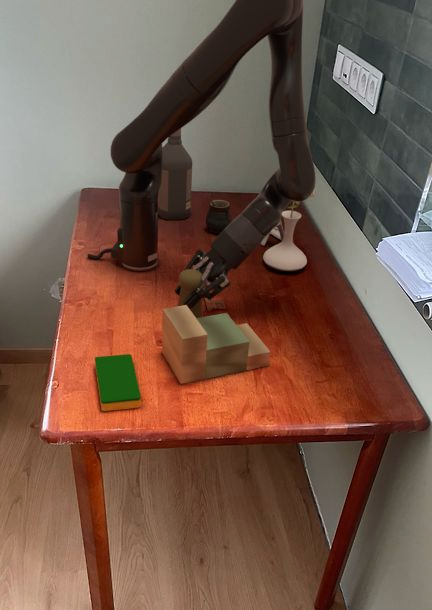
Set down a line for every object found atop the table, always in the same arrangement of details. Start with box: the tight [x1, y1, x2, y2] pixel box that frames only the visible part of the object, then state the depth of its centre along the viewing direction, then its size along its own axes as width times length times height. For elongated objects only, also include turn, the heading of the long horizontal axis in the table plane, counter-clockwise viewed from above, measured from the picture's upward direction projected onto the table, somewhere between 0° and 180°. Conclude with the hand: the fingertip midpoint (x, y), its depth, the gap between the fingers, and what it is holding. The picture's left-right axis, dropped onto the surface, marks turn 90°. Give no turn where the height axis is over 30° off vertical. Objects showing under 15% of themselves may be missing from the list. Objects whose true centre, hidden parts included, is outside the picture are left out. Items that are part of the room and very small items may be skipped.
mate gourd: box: [205, 199, 233, 235], centre depth 171 cm, size 7×8×10 cm
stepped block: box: [161, 305, 271, 385], centre depth 122 cm, size 19×11×10 cm, turn 113°
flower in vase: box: [262, 189, 316, 272], centre depth 153 cm, size 13×11×25 cm
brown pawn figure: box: [177, 268, 204, 318], centre depth 132 cm, size 6×6×11 cm
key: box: [203, 280, 226, 312], centre depth 146 cm, size 6×1×15 cm
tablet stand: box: [260, 219, 285, 246], centre depth 169 cm, size 9×8×8 cm
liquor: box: [158, 128, 193, 221], centre depth 172 cm, size 9×9×30 cm
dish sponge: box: [94, 353, 142, 412], centre depth 116 cm, size 7×14×2 cm, turn 13°
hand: (182, 299), depth 132 cm, fingers closed on brown pawn figure, 4 cm apart
